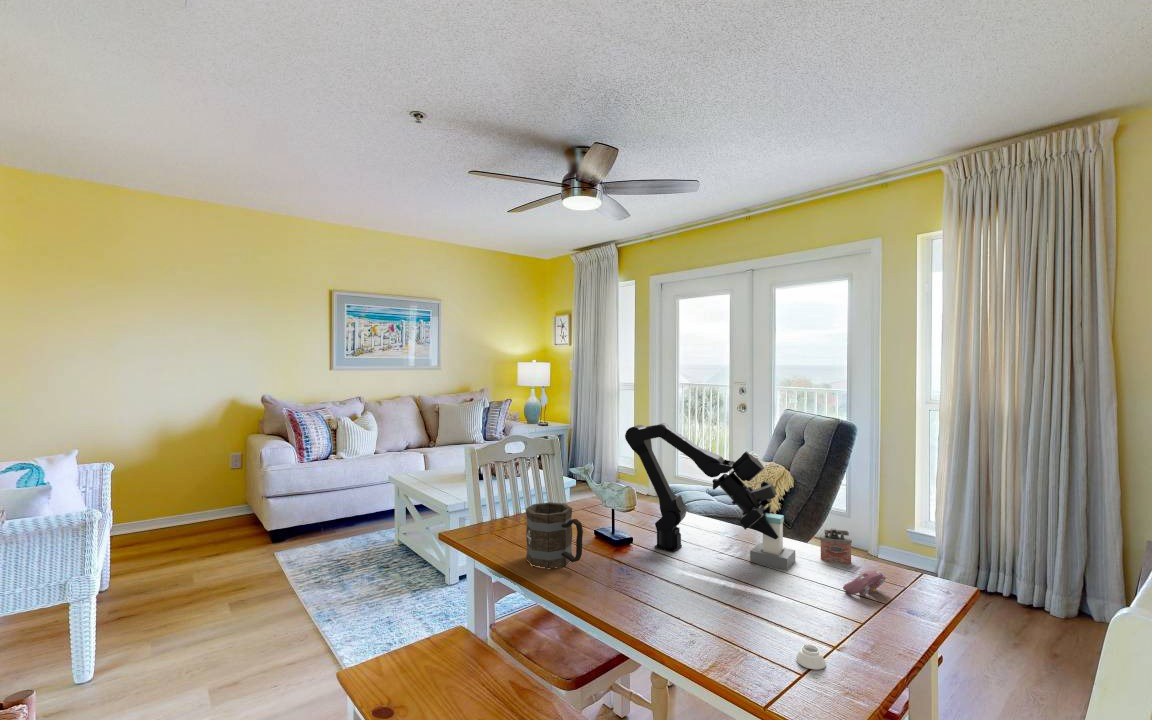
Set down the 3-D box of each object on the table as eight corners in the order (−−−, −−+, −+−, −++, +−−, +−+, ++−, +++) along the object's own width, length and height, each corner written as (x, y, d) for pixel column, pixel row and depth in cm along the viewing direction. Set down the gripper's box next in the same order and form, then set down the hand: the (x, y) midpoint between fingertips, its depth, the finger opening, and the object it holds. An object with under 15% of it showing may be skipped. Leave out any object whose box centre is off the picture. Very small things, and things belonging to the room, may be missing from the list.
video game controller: (855, 605, 125) (867, 584, 123) (839, 590, 129) (851, 569, 126) (880, 596, 130) (892, 575, 127) (864, 582, 134) (876, 561, 131)
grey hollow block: (750, 563, 146) (750, 550, 146) (759, 554, 152) (759, 542, 152) (787, 571, 140) (787, 558, 140) (795, 562, 146) (795, 550, 146)
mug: (516, 560, 151) (515, 508, 151) (550, 548, 160) (549, 499, 160) (564, 580, 137) (563, 523, 137) (598, 565, 147) (597, 512, 147)
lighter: (820, 564, 146) (820, 529, 146) (819, 560, 150) (819, 525, 150) (852, 568, 143) (852, 532, 143) (851, 564, 147) (851, 528, 147)
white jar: (827, 673, 96) (822, 658, 101) (827, 657, 96) (822, 643, 101) (798, 669, 97) (794, 654, 102) (798, 653, 97) (794, 639, 102)
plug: (761, 559, 145) (761, 516, 146) (765, 555, 150) (765, 512, 150) (780, 563, 143) (780, 518, 144) (783, 558, 147) (783, 515, 148)
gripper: (752, 480, 140) (796, 527, 135) (763, 468, 157) (803, 509, 151) (722, 505, 144) (764, 552, 139) (736, 491, 161) (774, 532, 155)
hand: (778, 535), depth 146 cm, fingers closed on plug, 5 cm apart
